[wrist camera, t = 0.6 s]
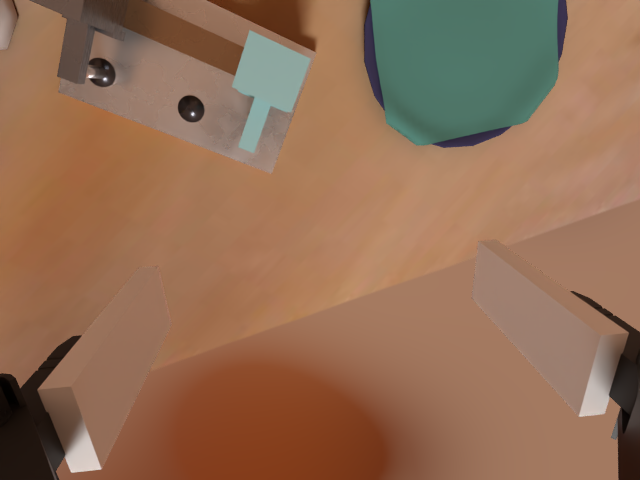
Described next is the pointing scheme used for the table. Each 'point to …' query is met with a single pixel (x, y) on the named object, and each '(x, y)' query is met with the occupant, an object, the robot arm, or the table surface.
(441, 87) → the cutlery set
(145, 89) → the base
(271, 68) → the block
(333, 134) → the table surface
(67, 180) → the table surface
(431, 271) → the table surface
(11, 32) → the flask
